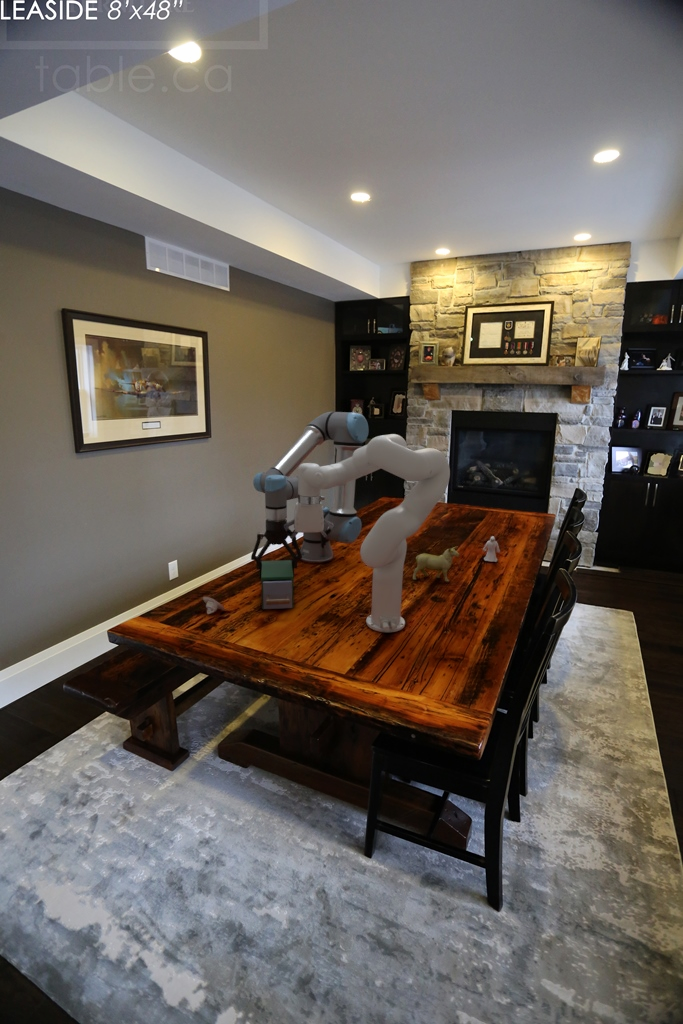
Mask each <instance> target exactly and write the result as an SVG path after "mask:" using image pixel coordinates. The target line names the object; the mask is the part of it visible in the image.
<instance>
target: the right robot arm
mask: <svg viewBox="0 0 683 1024" xmlns="http://www.w3.org/2000/svg"><path fill="white" fill-rule="evenodd" d="M297 469H298V470H297V472H298V473H297V476H298V498H297V502H295V505H294V513H293V519H292V520H290V521H287V523H286V524H284V528H285V530H286V531H287V533H288V534H289V535H290V536H291V537H292V539H291V547H293V549H294V550H296V541H297V535H298V534H300V533H302V534H303V533H310V532H320V533H321V534H322V536H321V547H322V548H324V545H326V537H327V535H328V534H329V533H330V532H331V530H332V528H333V527H334V524H333V523H331V522H329V521H327V520H325V519H324V516H323V507H324V506H323V502H322V501H325V495H321V490H329V489H332V488H334V487H336V486H340V485H343V484H345V483H348V482H350V481H353V480H355V479H356V480H358V479H359V478H362V477H365V476H367V475H369V474H372V473H374V472H376V471H379V470H380V469H382V470H383V471H385V472H388V473H390V474H392V475H394V476H395V477H396V476H397V477H399V478H401V479H403V480H405V481H408V482H416V483H415V484H414V485H413V487H411V488H410V490H409V491H408V493H407V495H406V496H405V497H404V499H403V501H401V503H400V504H399V505H398V506H396V507H393V508H391V509H388V510H387V511H385V512H384V513H383V514H382V515H381V516H380V517H379V518H378V519H377V521H375V523H374V525H373V527H372V528H371V529H370V530H369V532H368V533H367V535H366V537H365V538H364V539H363V541H362V543H361V546H360V549H359V555H360V559H361V561H362V563H363V564H364V565H365V566H367V567H368V568H372V585H371V586H372V587H371V607H370V609H371V613H370V615H368V616H367V617H366V621H365V622H366V623H365V624H366V625H367V627H368V628H369V629H372V630H373V631H376V632H379V633H396V632H398V631H402V630H403V629H404V628H405V626H406V620H405V618H403V617H402V615H401V614H402V599H403V598H402V597H403V580H404V567H405V560H406V557H407V556H406V555H407V551H408V550H407V549H408V543H407V539H408V538H409V537H412V536H413V535H415V534H416V533H417V532H418V531H419V530H420V528H421V527H422V525H423V524H424V523H425V521H426V519H427V518H428V517H429V515H430V514H431V513H432V511H433V509H435V506H436V505H437V504H438V503H439V501H440V500H441V498H442V497H443V495H444V494H445V492H446V490H447V489H448V488H447V487H448V485H449V483H450V477H451V469H450V463H449V461H448V458H447V457H446V456H445V454H444V453H443V452H442V451H441V450H439V449H437V448H433V447H425V448H421V449H416V450H413V449H410V448H408V443H407V442H406V440H405V438H403V436H401V435H400V434H396V433H390V434H382V435H377V436H375V437H372V439H370V440H369V442H368V443H367V444H365V445H363V446H362V447H361V448H358V449H356V450H355V451H354V453H353V456H352V457H350V458H348V459H346V460H344V461H341V462H339V463H336V462H335V463H331V464H326V465H322V466H321V465H319V463H315V462H302V463H301V464H300V465H299V466H298V467H297ZM356 480H355V481H356ZM324 524H326V525H328V526H329V527H328V529H327V530H326V531H324ZM291 526H293V528H294V529H293V530H291V529H290V527H291ZM290 536H289V537H290Z"/></svg>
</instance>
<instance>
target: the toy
mask: <svg viewBox="0 0 683 1024" xmlns="http://www.w3.org/2000/svg"><path fill="white" fill-rule="evenodd" d="M458 547H459V546H458V545H456V546H454V547H450V548H447V549H446V550H444V552H443V553H442V554H441V555H435V554H431V553H430V554H429V553H420V554H418V555H416V556H415V563H416V564H417V567H415V568H414V570H413V574H412V580H413V581H417V575H418V573H419V572H421V573H422V574H423V576H424V577H425V578H427V577H428V573H427V571H425V569H427V570H430V571H437V573H436V579H441V576H440V574H441V573H442V574H443V578H444V581H445V583H447V584H448V583H450V580H449V579H448V570H449V569H450V568H451V567H452V564H453V561H454V557H456V558H459V557H460V553H459V552H458V551H457V549H458Z"/></svg>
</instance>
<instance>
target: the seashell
mask: <svg viewBox="0 0 683 1024" xmlns="http://www.w3.org/2000/svg"><path fill="white" fill-rule="evenodd" d="M202 600H203V602H204V603H205V608H206V614H207V615H211V614H213V613H215V612H216V611H217V610H222V611H225V610H226V608H225V606H224V605H223V604H221V602H219V601H218V600H216V599H214V598H212V597H209V596H203V597H202Z"/></svg>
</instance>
